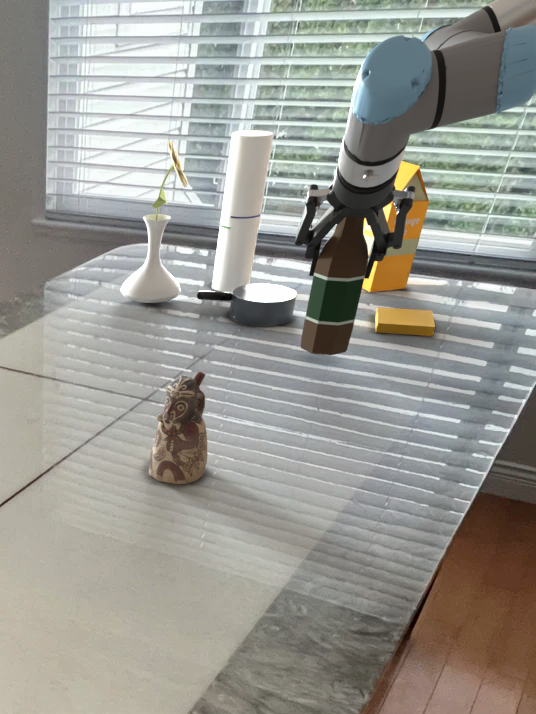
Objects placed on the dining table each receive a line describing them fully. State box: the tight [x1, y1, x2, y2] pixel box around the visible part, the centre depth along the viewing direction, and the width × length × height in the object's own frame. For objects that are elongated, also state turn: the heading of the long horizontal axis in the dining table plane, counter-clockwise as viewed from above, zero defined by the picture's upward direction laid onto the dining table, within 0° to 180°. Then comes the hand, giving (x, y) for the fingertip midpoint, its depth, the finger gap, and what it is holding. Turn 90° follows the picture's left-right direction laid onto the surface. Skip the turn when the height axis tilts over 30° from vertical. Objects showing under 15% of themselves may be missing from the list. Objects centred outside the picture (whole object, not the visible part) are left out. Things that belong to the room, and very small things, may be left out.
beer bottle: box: [300, 217, 368, 356], centre depth 125 cm, size 8×8×24 cm
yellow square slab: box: [374, 306, 436, 337], centre depth 145 cm, size 9×9×2 cm
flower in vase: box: [119, 139, 189, 304], centre depth 153 cm, size 13×11×25 cm
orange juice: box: [362, 160, 430, 293], centre depth 157 cm, size 8×9×20 cm
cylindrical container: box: [211, 129, 275, 293], centre depth 156 cm, size 7×7×25 cm
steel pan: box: [196, 283, 298, 328], centre depth 150 cm, size 17×11×4 cm, turn 72°
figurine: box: [148, 370, 208, 485], centre depth 103 cm, size 7×7×12 cm
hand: (340, 268), depth 129 cm, fingers closed on beer bottle, 7 cm apart
